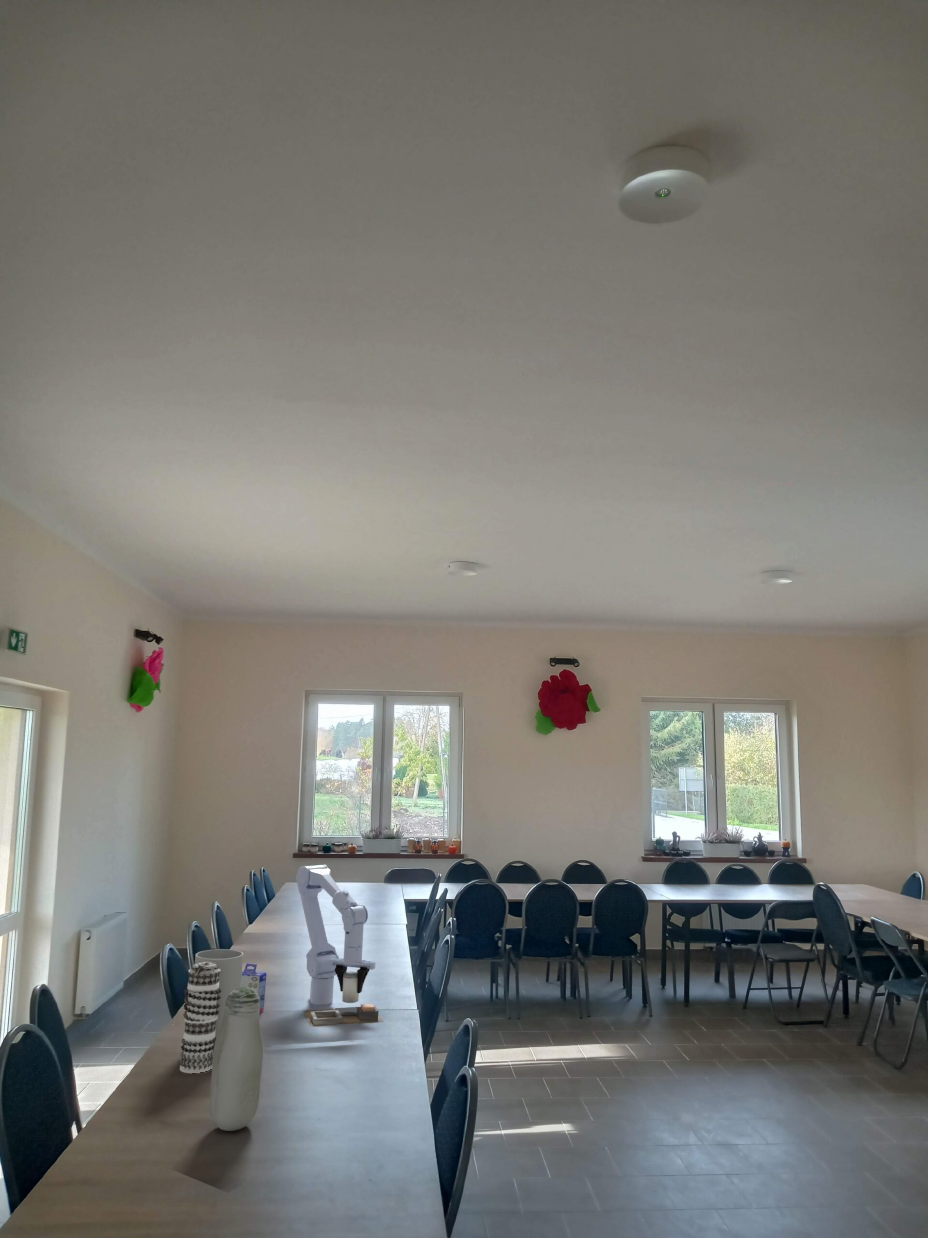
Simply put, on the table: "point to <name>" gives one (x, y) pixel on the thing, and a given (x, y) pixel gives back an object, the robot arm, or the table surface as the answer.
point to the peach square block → (367, 1007)
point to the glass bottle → (237, 1062)
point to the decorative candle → (200, 1018)
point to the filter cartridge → (350, 987)
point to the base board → (340, 1017)
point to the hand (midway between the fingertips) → (351, 991)
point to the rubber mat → (347, 1011)
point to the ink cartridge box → (255, 982)
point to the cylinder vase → (224, 975)
